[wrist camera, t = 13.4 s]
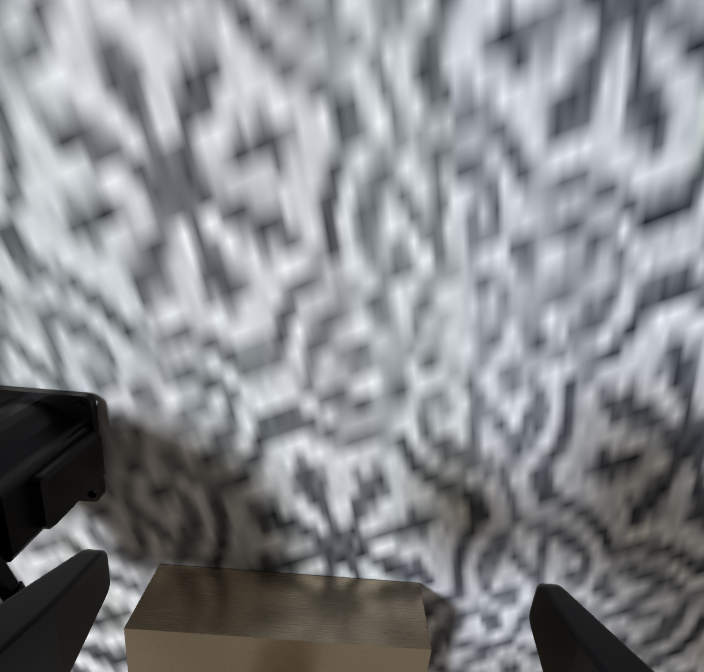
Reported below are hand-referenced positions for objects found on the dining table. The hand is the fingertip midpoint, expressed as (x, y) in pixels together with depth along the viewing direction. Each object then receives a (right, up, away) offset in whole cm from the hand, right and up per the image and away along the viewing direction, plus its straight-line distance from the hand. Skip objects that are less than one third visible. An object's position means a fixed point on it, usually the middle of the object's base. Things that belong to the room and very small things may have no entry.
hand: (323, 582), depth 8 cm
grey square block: (-4, -17, +19) cm, 26 cm away
